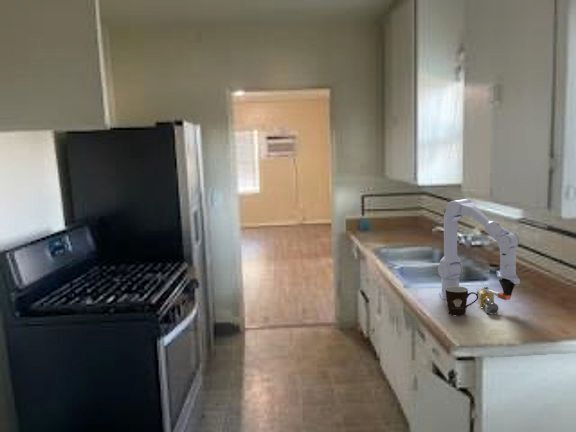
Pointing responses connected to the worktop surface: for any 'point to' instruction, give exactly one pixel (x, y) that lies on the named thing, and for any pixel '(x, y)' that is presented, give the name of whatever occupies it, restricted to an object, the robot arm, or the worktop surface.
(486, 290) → the valve lever
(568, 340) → the worktop surface
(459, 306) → the coffee mug
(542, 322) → the worktop surface
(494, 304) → the pipe valve
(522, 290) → the worktop surface
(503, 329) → the worktop surface
